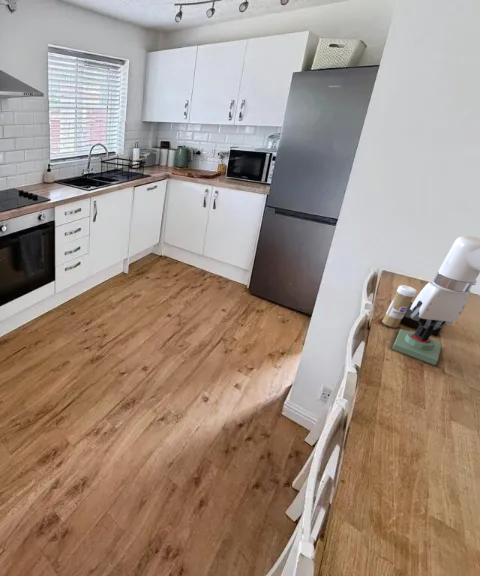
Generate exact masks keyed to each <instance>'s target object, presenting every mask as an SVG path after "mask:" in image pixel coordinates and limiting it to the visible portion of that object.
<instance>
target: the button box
mask: <svg viewBox="0 0 480 576" xmlns="http://www.w3.org/2000/svg"><path fill="white" fill-rule="evenodd" d="M415 332H416V331H408V330H406V329H402V328H400V329H399V332H398V333H397V336H396V339H395V341H394V343H393V345H392V350H394V351H397V352H399V353H402V354H405V355H407V356H410V357H413V358H415V359H417V360H420V361H423V362H424V363H425V362H426V363H428V364H431V365H434V366H436V365H437V363H438V361H439V358H440V352H441V349H442V342H440V341H437V340H434V339H433V338H431V337H429V342H428V343H423V342H420V341H417V340H416V339H414V338H413V336H414V335H415Z"/></svg>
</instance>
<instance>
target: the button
mask: <svg viewBox="0 0 480 576" xmlns="http://www.w3.org/2000/svg"><path fill="white" fill-rule="evenodd" d="M413 338H414V339H416V340H417V341H420V342H423V343H428V342H429V339H428V340H427V341H425V340H420V339H419V338H418V337H417V336H415V335H414V336H413Z"/></svg>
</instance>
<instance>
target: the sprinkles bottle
mask: <svg viewBox="0 0 480 576" xmlns="http://www.w3.org/2000/svg"><path fill="white" fill-rule="evenodd" d="M417 292H418V291H417V289H416V288H414V287H412V286H409V285H405V284H404V285H403V284H401V285H399V286H398V288H397V290H396V293H395V295H394V297H393V299H392V301H391V302H390V304H389V307H388V308H387V310H386V313H385V315H384V317H383V319H382V321H381V323H382V324H383V325H385V326H387V327H390V328H398V327H400V324H399V323H400V322H401V320H402V318H403V316H404V314H405V313H406V311H407V308H408V306H409V304H410V302H412V300H413V298H414V297H415V296H416V294H417Z"/></svg>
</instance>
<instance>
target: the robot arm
mask: <svg viewBox="0 0 480 576" xmlns="http://www.w3.org/2000/svg"><path fill="white" fill-rule="evenodd" d="M445 256H446V257H445V258H444V260H443V261H442V263H441V265H440V267H439V269H438V271H437V273H436V275H435V276H434V278H433V280H432V281H429V282H428V283H426V284H425V285H424V286H423V288H422V289H421V291H420V292H419V293H418V294H417V295H416V297H415V299H414V301H412V303H413V304H412V306H411V308H410V310H411V311H413V313H412V314H411V315H410V318H412V319H413V320H415V321H418V323H419V324H420V325H419V327H418V328H417V329H415V331H414V332H415V336H417V337H418V338H419V339H420V340H425V341H427V340H428V339H429V338H431V336H432V335H431V334H432V332H433V330H436V329H438V327H439V326H441V325H442V326H444V325H451V324H453V323H454V322H455V321H457V320H458V319H459V317H460V316H461V315H462V313H463V311H464V309H465V307H466V305H467V303H468V300H469V297H470V294H471V288H472V287H473V286H476V285H477V278H478V277H479V275H480V237H479V236H472V235H471V236H470V235H461V236H458V237H457V238H456V239H454V242H453V243H452V245H451V247H450V248H449V250H448V253H447V255H445Z"/></svg>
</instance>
